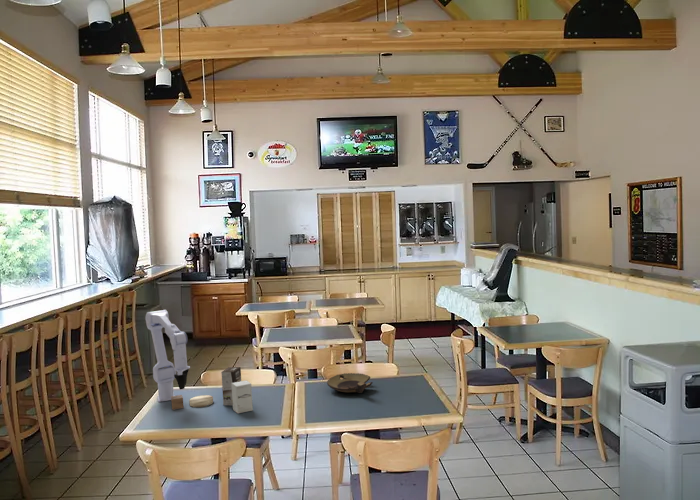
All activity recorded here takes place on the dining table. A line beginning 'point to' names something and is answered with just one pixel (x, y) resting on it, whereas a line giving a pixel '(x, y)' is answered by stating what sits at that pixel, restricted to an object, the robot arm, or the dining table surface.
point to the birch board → (201, 401)
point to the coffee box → (229, 383)
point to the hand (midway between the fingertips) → (182, 387)
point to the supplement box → (242, 396)
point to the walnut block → (177, 402)
